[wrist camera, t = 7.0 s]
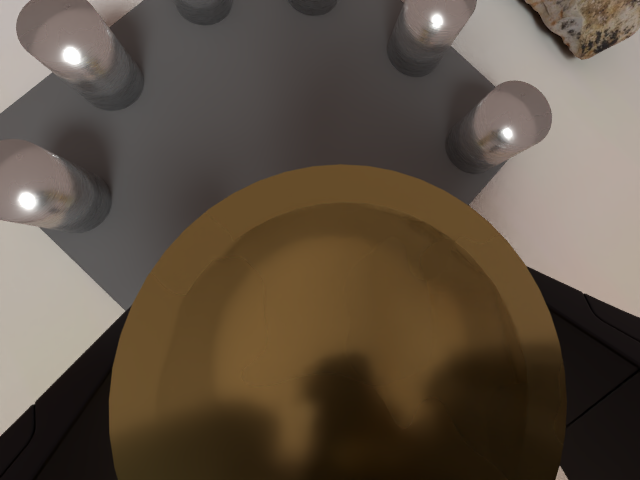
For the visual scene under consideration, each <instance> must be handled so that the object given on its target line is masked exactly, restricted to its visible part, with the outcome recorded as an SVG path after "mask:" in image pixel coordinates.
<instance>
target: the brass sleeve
mask: <svg viewBox="0 0 640 480" xmlns="http://www.w3.org/2000/svg"><path fill="white" fill-rule="evenodd" d="M566 410H567V397H566V381H565V370H564V365H563V359H562V354H561V348H560V343H559V340H558V336H557V333H556V330H555V327H554V323H553V320H552V317H551V314H550V312H549V310H548V307H547V305H546V303H545V300H544V298H543V296H542V294H541V291H540V289H539V287H538V286H537V284H536V282H535V281H534V279H533V277H532V275H531V274H530V272H529V270H528V269H527V267H526V265H525V264H524V262H523V261H522V260H521V258H520V257H519V256H518V254H517V253H516V252H515V251H514V249H513V248H512V247H511V245H510V244H509V243H508V241H507V240H506V239H505V238H504V237H503V236H502V235H501V234H500V233H499V232H498V231H497V230H496V229H495V228H494V227H493V226H492V225H491V224H490V223H489V222H488V221H487V220H486V219H484V218H483V217H482V216H481V215H479V214H478V213H477V212H476V211H474V210H473V209H472V208H471V207H469V206H468V205H467V204H465V203H464V202H462V201H460V200H459V199H457V198H456V197H454V196H452V195H451V194H449V193H448V192H446V191H444V190H442V189H440V188H438V187H436V186H434V185H432V184H429V183H427V182H425V181H423V180H421V179H418V178H415V177H412V176H409V175H406V174H402V173H399V172H396V171H392V170H387V169H381V168H376V167H371V166H360V165H343V164H339V165H324V166H312V167H307V168H302V169H297V170H292V171H287V172H284V173H281V174H278V175H275V176H272V177H269V178H266V179H263V180H260V181H257V182H255V183H253V184H251V185H249V186H247V187H245V188H243V189H241V190H239V191H237V192H235V193H233V194H231V195H230V196H228V197H227V198H225V199H224V200H222V201H221V202H219V203H217V204H216V205H214V206H213V207H211V208H210V209H208V210H207V211H206V212H205V213H204V214H202V215H201V216H200V217H199V218H198V219H197V220H195V221H194V222H193V223H192V224H191V225H189V226H188V227H187V228H186V229H185V230H184V231H183V232H182V233H181V234H180V236H179V237H178V238H177V239H176V240H175V241H174V242H173V243H172V244H171V245H170V246H169V248H168V249H167V250H166V251H165V252H164V254H163V255H162V256H161V258H160V259H159V261H158V262H157V263H156V265H155V266H154V268H153V269H152V270H151V272H150V273H149V275H148V276H147V278H146V280H145V282H144V283H143V285H142V287H141V289H140V291H139V293H138V295H137V296H136V298H135V300H134V302H133V304H132V306H131V309H130V311H129V314H128V317H127V319H126V322H125V325H124V327H123V330H122V332H121V335H120V339H119V343H118V347H117V351H116V355H115V359H114V364H113V368H112V377H111V386H110V395H109V434H110V441H111V448H112V454H113V461H114V468H115V471H116V475H117V478H118V480H555V479H556V476H557V472H558V469H559V465H560V461H561V455H562V449H563V444H564V438H565V429H566Z"/></svg>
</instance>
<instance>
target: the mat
mask: <svg viewBox="0 0 640 480" xmlns="http://www.w3.org/2000/svg"><path fill="white" fill-rule="evenodd" d="M403 4H404V3H403V2H402V1H401V0H338V2H337V4H336V5H335V7H334V8H333V9H332V10H331V11H329V12H328V13H326V14H323V15H319V16H309V15H305V14H302V13H300V12H298V11H297V10H295V9H294V8H293V7H292V6H291V5H290V4H289V2H288V0H233V4H232V8H231V11H230V12H229V14H228V15H227V16H226V17H225V18H224V19H223V20H222V21H220V22H218V23H216V24H212V25H198V24H194V23H191V22H189V21H188V20H186V19H185V18H184V17H182V16H181V14H180V13H179V12H178V10H177V8H176V6H175V4H174V1H173V0H144V1H142V2H141V3H140V4H139V5H137V6H136V7H135V8H134V9H132V10H131V11H130V12H128V13H127V14H126V15H125V16H123V17H122V18H121V19H120V20H118V21H117V22H116V23H115V24H113V25H112V26H111V27H109V28H110V30H111V31H112V32H113V34H114V35H115V36H116V38H117V39H118V40H119V42H120V43H121V44H122V46H123V47H124V48H125V49H126V51H127V52H128V53H129V55H130V56H131V57H132V59H133V60H134V61H135V63H136V64H137V65H138V67H139V68H140V69H141V71H142V74H143V77H144V87H143V91H142V93H141V95H140V97H139V98H138V99H137V100H136V101H135V102H134V103H133V104H132V105H130V106H128V107H127V108H124V109H121V110H116V111H107V110H102V109H99V108H97V107H95V106H93V105H92V104H91V103H89V102H88V101H87V100H86V99H85V98H83V97H82V96H81V95H80V94H78V93H77V92H76V91H75V90H74V89H72V88H71V87H70V86H69V85H68V84H66V83H65V82H64V81H63V80H61V79H60V78H59V77H58V76H57V75H55V74H54V73H53V72H52V73H51V74H50V75H49V76H47V77H46V78H45V79H44V80H42V81H41V82H40V83H39V84H37V85H36V86H35V87H33V88H32V89H31V90H30V91H28V92H27V93H26V94H25V95H23V96H22V97H21V98H20V99H18V100H17V101H16V102H14V103H13V104H12V105H11V106H9V107H8V108H7V109H6V110H4V111H3V112H2V113H1V114H0V140H6V139H20V140H25V141H28V142H31V143H33V144H35V145H37V146H39V147H41V148H43V149H45V150H47V151H49V152H51V153H53V154H56V155H58V156H60V157H62V158H64V159H66V160H68V161H70V162H72V163H74V164H76V165H78V166H80V167H82V168H84V169H86V170H88V171H90V172H92V173H94V174H96V175H98V176H99V177H101V178H102V179H103V180H104V181H105V182H106V183H107V185H108V186H109V188H110V191H111V194H112V205H111V209H110V212H109V214H108V216H107V217H106V218H105V220H104V221H103V222H102V223H101V224H100V225H98V226H97V227H95V228H94V229H92V230H89V231H86V232H82V233H70V232H65V231H59V230H53V229H48V228H42V227H40V228H41V229H42V230H43V231H44V232H45V233H46V234H47V235H48V236H49V237H50V238H51V239H52V240H53V241H54V242H55V243H56V244H57V245H58V246H59V247H60V248H61V249H62V250H63V251H64V252H65V253H66V254H67V255H68V256H69V257H71V258H72V259H73V260H74V261H75V262H76V263H77V264H78V265H79V266H80V267H81V268H82V269H83V270H84V271H85V272H86V273H87V274H88V275H89V276H90V277H91V278H92V279H93V280H94V281H95V282H96V283H97V284H98V285H99V286H100V287H102V288H103V289H104V290H105V291H106V292H107V293H108V294H109V295H110V296H111V297H112V298H113V299H114V300H115V301H116V302H117V303H118V304H119V305H120V306H121V307H122V308H123V309H124V310H125V311H126V310H127V309H128V308H129V307H130V306H131V305H132V304H133V302H134V300H135V298H136V296H137V295H138V293H139V291H140V289H141V287H142V285H143V283H144V282H145V280H146V278H147V276H148V275H149V273H150V272H151V270H152V269H153V268H154V266H155V265H156V263H157V262H158V261H159V259H160V258H161V256H162V255H163V254H164V252H165V251H166V250H167V249H168V248H169V246H170V245H171V244H172V243H173V242H174V241H175V240H176V239H177V238H178V237H179V236H180V234H181V233H182V232H183V231H184V230H185V229H186V228H187V227H188V226H189V225H191V224H192V223H193V222H194V221H195V220H197V219H198V218H199V217H200V216H201V215H202V214H204V213H205V212H206V211H207V210H208V209H210V208H211V207H213V206H214V205H216V204H217V203H219V202H221V201H222V200H224V199H225V198H227V197H228V196H230V195H231V194H233V193H235V192H237V191H239V190H241V189H243V188H245V187H247V186H249V185H251V184H253V183H255V182H257V181H260V180H263V179H266V178H269V177H272V176H275V175H278V174H281V173H284V172H287V171H292V170H297V169H302V168H307V167H312V166H324V165H339V164H343V165H360V166H371V167H376V168H381V169H387V170H392V171H396V172H399V173H402V174H406V175H409V176H412V177H415V178H418V179H421V180H423V181H425V182H427V183H429V184H432V185H434V186H436V187H438V188H440V189H442V190H444V191H446V192H448V193H449V194H451V195H452V196H454V197H456V198H457V199H459V200H460V201H462V202H464V203H465V204H467V205H469V204H470V203H471V202H472V200H473V199H474V198H475V197H476V196H477V195H478V194H479V192H480V191H481V190H482V189H483V188H484V187H485V186H486V184H487V183H488V182H489V181H490V180H491V179H492V177H493V176H494V175H495V174H496V173H497V172H498V171H499V169H500V168H501V167H502V166H503V165H504V164H505V163H506V161H507V160H508V159H507V160H506V161H504V162H502V163H500V164H498V165H496V166H494V167H493V168H491V169H489V170H487V171H485V172H483V173H479V174H470V173H466V172H464V171H461V170H460V169H458V168H457V167H456V166H455V165H454V164H453V163H452V162H451V161H450V159H449V157H448V155H447V152H446V147H445V143H446V137H447V135H448V133H449V131H450V130H451V128H452V127H453V126H455V125H456V124H457V123H458V122H459V121H460V120H461V119H462V118H463V117H464V116H465V115H466V114H467V113H468V112H470V111H471V110H472V109H473V108H474V107H475V106H476V105H477V104H478V103H479V102H480V101H481V100H482V99H483V98H485V97H486V96H487V95H488V94H489V93H490V92H491V91H492V90H493V89H494V88H495V86H494V85H493V84H492V83H491V82H489V81H488V80H487V79H486V78H485V77H484V76H483V75H482V74H481V73H480V72H479V71H477V70H476V69H475V68H474V67H473V66H472V65H471V64H470V63H469V62H468V61H467V60H465V59H464V58H463V57H462V56H461V55H460V54H459V53H458V52H457V51H456V50H455V49H453V48H452V47H451V46H450V47H449V49H448V50H447V52H446V53H445V55H444V56H443V58H442V59H441V61H440V62H439V64H438V65H437V67H436V68H435V69H434V70H433V71H432V72H431V73H429V74H427V75H425V76H422V77H411V76H407V75H405V74H402V73H401V72H399V71H398V70H397V69H396V68H395V67H394V66H393V65H392V63H391V62H390V60H389V57H388V53H387V46H388V42H389V39H390V37H391V34H392V32H393V29H394V27H395V24H396V22H397V19H398V17H399V14H400V12H401V9H402V7H403Z"/></svg>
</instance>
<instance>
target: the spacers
mask: <svg viewBox="0 0 640 480" xmlns="http://www.w3.org/2000/svg"><path fill="white" fill-rule="evenodd" d="M173 1H174V4H175V6H176V8H177V10H178V12H179V13H180V14H181V16H182V17H184V18H185V19H186V20H188V21H189V22H191V23H194V24H198V25H212V24H216V23H218V22H220V21H222V20H223V19H224V18H225V17H226V16H227V15H228V14H229V12H230V11H231V8H232V4H233V0H173ZM288 2H289V4H290V5H291V6H292V7H293V8H294V9H295V10H297V11H298V12H300V13H302V14H305V15H309V16H319V15H323V14H326V13H328V12H329V11H331V10H332V9H333V8H334V7H335V5H336V4H337V2H338V0H288ZM476 2H477V0H405V2H404V4H403V7H402V9H401V12H400V14H399V17H398V19H397V22H396V24H395V27H394V29H393V32H392V34H391V37H390V39H389V42H388V46H387V53H388V57H389V60H390V62H391V63H392V65H393V66H394V67H395V68H396V69H397V70H398V71H399V72H401V73H402V74H405V75H407V76H411V77H422V76H425V75H427V74H429V73H431V72H432V71H433V70H434V69H435V68H436V67H437V65H438V64H439V62H440V61H441V59H442V58H443V56H444V55H445V53H446V52H447V50H448V49H449V47H450V46H451V44H452V43H453V41H454V40H455V39H456V37H457V36H458V34H459V33H460V31H461V30H462V28H463V27H464V25H465V24H466V22H467V21H468V19H469V18H470V16H471V15H472V13H473V12H474V10H475V7H476ZM16 31H17V36H18V39H19V41H20V43H21V45H22V46H23V47H24V48H25V49H26V51H28V52H29V53H30V54H31V55H32V56H34V57H35V58H36V59H37V60H38V61H40V62H41V63H42V64H43V65H45V66H46V67H47V68H48V69H49V70H51V71H52V72H53V73H54V74H55V75H57V76H58V77H59V78H60V79H61V80H63V81H64V82H65V83H66V84H68V85H69V86H70V87H71V88H72V89H74V90H75V91H76V92H77V93H78V94H80V95H81V96H82V97H83V98H85V99H86V100H87V101H88V102H89V103H91V104H92V105H93V106H95V107H97V108H99V109H102V110H107V111H116V110H121V109H124V108H127V107H128V106H130V105H132V104H133V103H134V102H135V101H136V100H137V99H138V98H139V97H140V95H141V93H142V91H143V87H144V77H143V74H142V71H141V69H140V68H139V67H138V65H137V64H136V63H135V61H134V60H133V59H132V57H131V56H130V55H129V53H128V52H127V51H126V49H125V48H124V47H123V46H122V44H121V43H120V42H119V40H118V39H117V38H116V36H115V35H114V34H113V32H112V31H111V30H110V28H109V27H108V26H107V25H106V23H105V22H104V21H103V19H102V18H101V17H100V15H99V14H98V13H97V11H96V10H95V9H94V8H93V6H92V5H91V4H90V3H89V2H88V1H87V0H31V1H29V2H28V3H27V4H26V5H25V6H24V7H23V9H22V10H21V12H20V14H19V16H18V19H17V24H16ZM551 123H552V113H551V109H550V106H549V103H548V101H547V100H546V98H545V97H544V95H543V94H542V93H541V92H540V91H539V90H538V89H537V88H535V87H534V86H532V85H530V84H528V83H525V82H522V81H507V82H504V83H502V84H500V85H498V86H497V87H495V88H494V89H493V90H492V91H491V92H490V93H489V94H488V95H487V96H486V97H485V98H483V99H482V100H481V101H480V102H479V103H478V104H477V105H476V106H475V107H474V108H473V109H472V110H471V111H470V112H468V113H467V114H466V115H465V116H464V117H463V118H462V119H461V120H460V121H459V122H458V123H457V124H456V125H455V126H453V127H452V128H451V130H450V131H449V133H448V135H447V137H446V143H445V147H446V152H447V155H448V157H449V159H450V161H451V162H452V163H453V164H454V165H455V166H456V167H457V168H458V169H460V170H461V171H464V172H466V173H470V174H479V173H483V172H485V171H487V170H489V169H491V168H493V167H494V166H496V165H498V164H500V163H502V162H504V161H506V160H507V159H509V158H511V157H513V156H515V155H517V154H519V153H520V152H522V151H524V150H526V149H528V148H530V147H532V146H533V145H535V144H537V143H539V142H540V141H542V140H543V139H544V138H545V137H546V135H547V134H548V132H549V130H550V127H551ZM111 205H112V194H111V191H110V188H109V186H108V185H107V183H106V182H105V181H104V180H103V179H102V178H101V177H99V176H98V175H96V174H94V173H92V172H90V171H88V170H86V169H84V168H82V167H80V166H78V165H76V164H74V163H72V162H70V161H68V160H66V159H64V158H62V157H60V156H58V155H56V154H53V153H51V152H49V151H47V150H45V149H43V148H41V147H39V146H37V145H35V144H33V143H31V142H28V141H25V140H20V139H6V140H0V220H3V221H9V222H15V223H20V224H26V225H31V226H37V227H42V228H48V229H53V230H59V231H65V232H70V233H82V232H86V231H89V230H92V229H94V228H95V227H97V226H98V225H100V224H101V223H102V222H103V221H104V220H105V218H106V217H107V216H108V214H109V212H110V209H111Z"/></svg>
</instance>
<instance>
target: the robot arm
mask: <svg viewBox="0 0 640 480" xmlns="http://www.w3.org/2000/svg"><path fill="white" fill-rule="evenodd" d="M526 267H527V266H526ZM527 269H528V270H529V272H530V274H531V275H532V277H533V279H534V281H535V282H536V284H537V286H538V287H539V289H540V291H541V294H542V296H543V298H544V300H545V303H546V305H547V307H548V310H549V312H550V314H551V317H552V320H553V323H554V327H555V330H556V333H557V336H558V340H559V343H560V348H561V354H562V359H563V365H564V370H565V381H566V397H567V410H566V429H565V438H564V444H563V449H562V455H561V461H560V466H561V468H562V470H563V471H564V473H565V475H566V476H567V478H568V480H640V318H639V317H636V316H634V315H632V314H629V313H627V312H625V311H622V310H620V309H618V308H616V307H613V306H611V305H609V304H607V303H605V302H602V301H600V300H598V299H596V298H594V297H592V296H589V295H587V294H583V293H582V292H581V291H579V290H576V289H574V288H572V287H570V286H568V285H566V284H564V283H561V282H559V281H557V280H555V279H553V278H551V277H549V276H546V275H544V274H542V273H540V272H538V271H536V270H534V269H531V268H529V267H527ZM131 306H132V305H131ZM131 306H130V307H129V308H128V309H127V310H126V311H125V312H124V313H123V314H122V315H121V316H120V317H119V318H118V319H117V320H116V321H115V322H114V323H113V324H112V325H111V326H110V327H109V328H108V329H107V330H106V331H105V332H104V333H103V334H102V335H101V336H100V337H99V338H98V339H97V340H96V341H95V342H94V343H93V344H92V345H91V346H90V347H89V348H88V349H87V350H86V351H85V352H84V353H83V354H82V355H81V356H80V357H79V358H78V359H77V360H76V361H75V362H74V363H73V364H72V365H71V366H70V367H69V368H68V369H67V370H66V371H65V372H64V373H63V374H62V375H61V376H60V377H59V378H58V379H57V380H56V381H55V382H54V383H53V384H52V385H51V386H50V387H49V388H48V389H47V390H46V392H45V393H44V394H43V395H42V396H41V397H40V398H39V399H38V400H37V401H36V402H35V404H34V405H31V406H30V407H29V408H28V409H27V410H26V411H25V412H24V413H23V414H22V415H21V416H20V417H19V418H18V419H17V420H16V421H15V422H14V423H13V424H12V425H11V426H10V427H9V428H8V429H7V430H6V431H5V432H4V433H3V434H2V435H1V436H0V480H118V478H117V475H116V471H115V468H114V461H113V454H112V448H111V441H110V434H109V395H110V386H111V377H112V368H113V364H114V359H115V355H116V351H117V347H118V343H119V339H120V335H121V332H122V330H123V327H124V325H125V322H126V319H127V317H128V314H129V311H130V309H131Z"/></svg>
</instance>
